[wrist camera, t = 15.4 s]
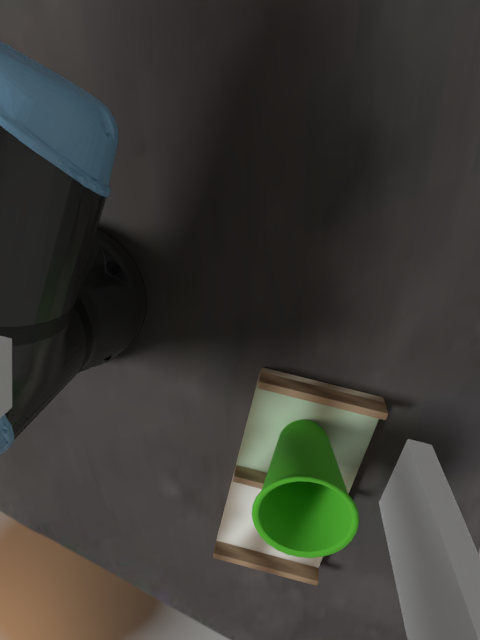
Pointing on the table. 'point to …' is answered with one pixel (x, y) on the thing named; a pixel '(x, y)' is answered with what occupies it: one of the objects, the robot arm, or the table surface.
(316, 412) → the wooden divided tray
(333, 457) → the cup
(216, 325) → the table surface
